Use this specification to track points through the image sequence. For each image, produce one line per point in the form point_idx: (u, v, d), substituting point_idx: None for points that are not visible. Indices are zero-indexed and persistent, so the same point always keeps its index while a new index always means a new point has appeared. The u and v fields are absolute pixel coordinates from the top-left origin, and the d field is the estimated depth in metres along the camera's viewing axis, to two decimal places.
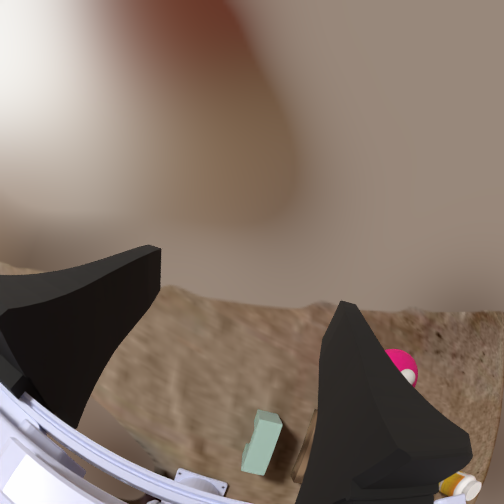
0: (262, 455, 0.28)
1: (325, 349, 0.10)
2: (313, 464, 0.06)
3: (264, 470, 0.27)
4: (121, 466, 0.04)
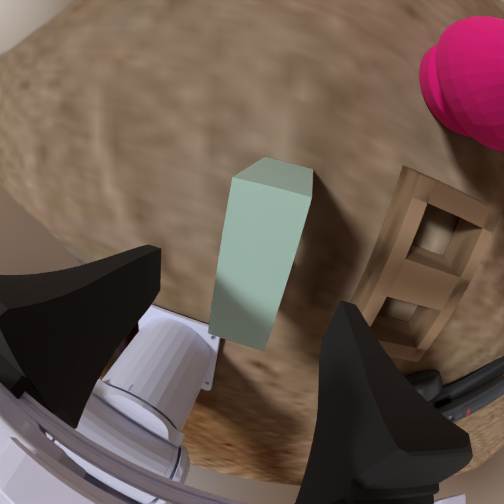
0: (254, 298, 0.12)
1: (325, 349, 0.10)
2: (312, 464, 0.06)
3: (264, 338, 0.13)
4: (121, 466, 0.04)
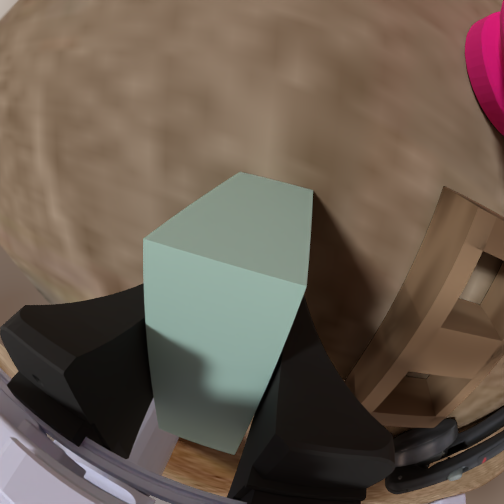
0: (212, 411, 0.07)
1: None
2: (244, 451, 0.06)
3: (233, 446, 0.08)
4: (121, 466, 0.04)
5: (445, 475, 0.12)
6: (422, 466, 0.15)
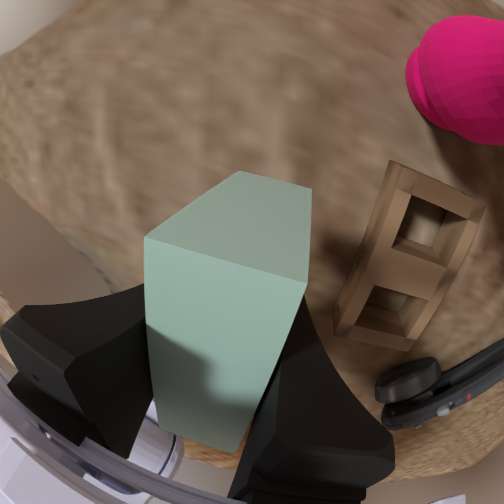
0: (212, 410, 0.07)
1: None
2: (244, 451, 0.06)
3: (233, 445, 0.08)
4: (121, 465, 0.04)
5: (433, 409, 0.18)
6: None
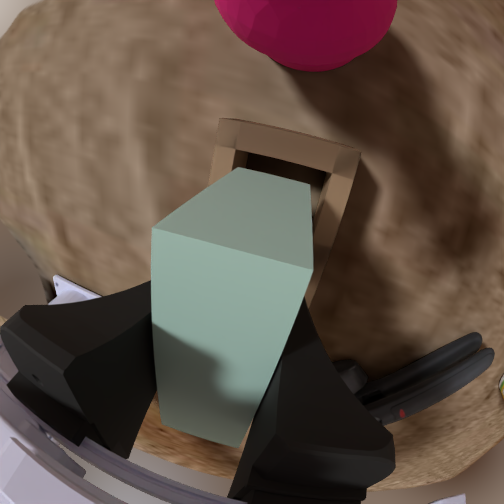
0: (217, 403, 0.07)
1: None
2: (244, 451, 0.06)
3: (237, 439, 0.08)
4: (121, 465, 0.04)
5: None
6: None
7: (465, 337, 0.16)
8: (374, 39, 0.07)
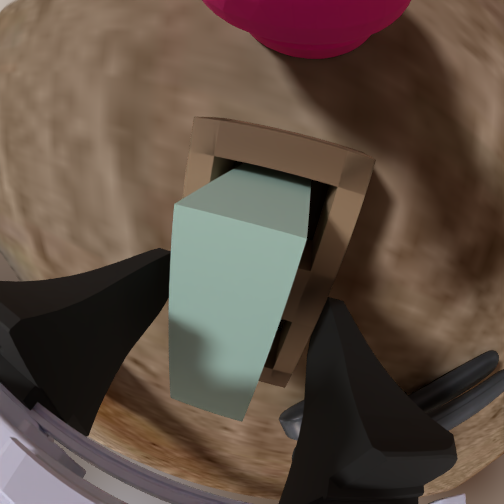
0: (223, 370, 0.08)
1: (312, 346, 0.10)
2: (297, 462, 0.06)
3: (241, 411, 0.09)
4: (121, 465, 0.04)
5: None
6: None
7: (481, 357, 0.13)
8: (394, 11, 0.04)
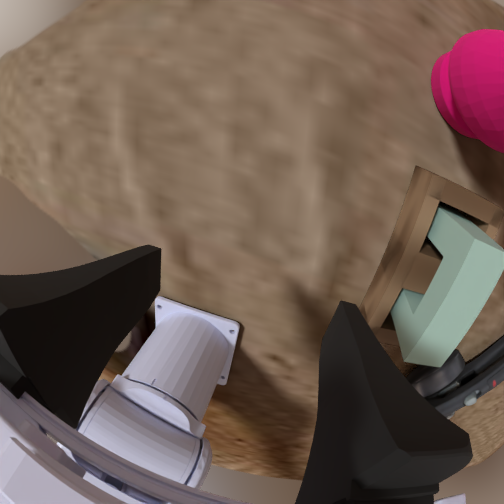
0: (454, 328, 0.12)
1: (325, 349, 0.10)
2: (312, 464, 0.06)
3: (445, 357, 0.13)
4: (121, 466, 0.04)
5: (460, 400, 0.17)
6: (441, 398, 0.20)
7: None
8: None
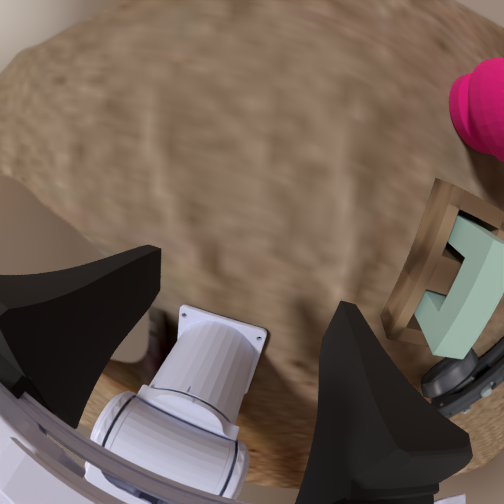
0: (476, 320, 0.12)
1: (325, 349, 0.10)
2: (313, 464, 0.06)
3: (467, 349, 0.13)
4: (121, 465, 0.04)
5: (477, 392, 0.17)
6: None
7: None
8: None
